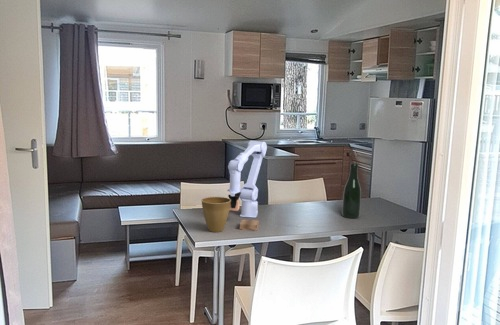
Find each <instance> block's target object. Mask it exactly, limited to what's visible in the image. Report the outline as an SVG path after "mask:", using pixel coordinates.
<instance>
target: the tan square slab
mask: <svg viewBox="0 0 500 325" xmlns="http://www.w3.org/2000/svg"><path fill="white" fill-rule="evenodd" d="M259 224H260V220H257V219H241V220H240V222H239V230H240V229H242V230H241V231H243V230H244V231H253V230H254V231H253V232H255V231H256V232H257V231H258V228H259V226H260V225H259Z"/></svg>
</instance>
